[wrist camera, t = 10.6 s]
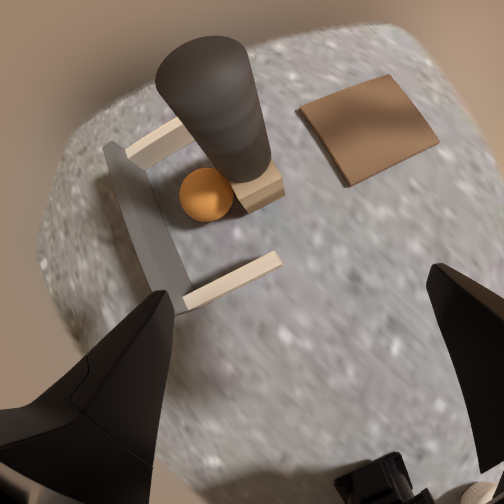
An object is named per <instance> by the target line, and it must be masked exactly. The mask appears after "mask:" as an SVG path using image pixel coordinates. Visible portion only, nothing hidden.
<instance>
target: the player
mask: <svg viewBox="0 0 504 504" xmlns="http://www.w3.org/2000/svg"><path fill="white" fill-rule="evenodd" d="M155 84H156V88H157V91H158V92H159V94H160V95H161V96H162V98H163V99H164V100H165V102H166V103H167V104H168V105H169V107H170V108H171V109H172V111H173V112H174V113H175V115H176V116H177V117H178V118H179V120H180V121H181V122H182V124H183V125H184V126H185V128H186V129H187V130H188V132H189V133H190V134H191V135H192V137H193V138H194V139H195V141H196V142H197V143H198V145H199V146H200V147H201V149H202V150H203V151H204V153H205V154H206V155H207V157H208V158H209V159H210V161H211V162H212V163H213V165H214V166H215V167H216V169H217V170H218V171H219V173H220V174H221V175H222V176H223V177H224V178H226V179H227V180H229V182H230V184H231V186H232V188H233V190H234V192H235V194H236V196H237V198H238V200H239V201H240V203H241V204H242V205H243V207H244V208H245V209H246V211H247V212H248V213H249V214H250V213H252V212H254V211H256V210H258V209H260V208H262V207H264V206H266V205H268V204H269V203H271V202H273V201H275V200H277V199H279V198H281V197H283V196H285V192H284V185H283V178H282V176H281V174H280V173H279V171H278V169H277V167H276V166H275V164H274V162H273V161H272V159H271V150H270V145H269V141H268V136H267V132H266V128H265V123H264V119H263V115H262V110H261V106H260V102H259V98H258V94H257V90H256V86H255V82H254V78H253V74H252V70H251V66H250V62H249V58H248V54H247V52H246V49H245V48H244V46H243V45H242V44H240V43H239V42H238V41H236V40H234V39H231V38H228V37H224V36H206V37H201V38H197V39H194V40H192V41H189V42H187V43H185V44H183V45H181V46H179V47H178V48H176V49H175V50H174V51H173V52H171V53H170V54H169V55H168V56H167V57H166V58H165V59H164V60H163V62H162V63H161V65H160V67H159V68H158V71H157V73H156V78H155Z"/></svg>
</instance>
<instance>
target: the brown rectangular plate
mask: <svg viewBox="0 0 504 504" xmlns="http://www.w3.org/2000/svg"><path fill="white" fill-rule="evenodd" d="M300 110H301V112H302V113H303V115H304V116H305V117H306V119H307V120H308V122H309V123H310V125H311V126H312V128H313V129H314V130H315V132H316V133H317V135H318V136H319V138H320V139H321V141H322V142H323V144H324V145H325V147H326V148H327V150H328V152H329V153H330V155H331V156H332V158H333V159H334V161H335V163H336V164H337V166H338V167H339V169H340V171H341V172H342V174H343V176H344V177H345V179H346V181H347V182H348V184H349V186H350V187H352V186H354V185H356V184H358V183H360V182H362V181H364V180H366V179H368V178H370V177H372V176H374V175H376V174H378V173H380V172H382V171H384V170H386V169H388V168H390V167H392V166H394V165H396V164H398V163H400V162H402V161H404V160H406V159H408V158H410V157H412V156H414V155H416V154H418V153H420V152H422V151H424V150H426V149H428V148H430V147H432V146H435V145H437V144H438V143H439V142H440V141H439V139H438V138H437V136H436V135H435V133H434V132H433V130H432V129H431V127H430V126H429V124H428V123H427V121H426V120H425V119H424V117H423V116H422V115H421V113H420V112H419V110H418V109H417V108H416V106H415V105H414V104H413V103H412V101H411V100H410V99H409V97H408V96H407V95H406V94H405V92H404V91H403V90H402V89H401V87H400V86H399V85H398V84H397V83H396V81H395V80H394V79H393V78H392V77H391V76H390V75H389V74H388V75H385V76H381V77H378V78H375V79H372V80H369V81H366V82H363V83H360V84H358V85H355V86H352V87H349V88H346V89H344V90H341V91H338V92H336V93H333V94H331V95H328V96H325V97H323V98H320V99H318V100H315V101H313V102H311V103H308V104H306V105H303V106H301V107H300Z"/></svg>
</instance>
